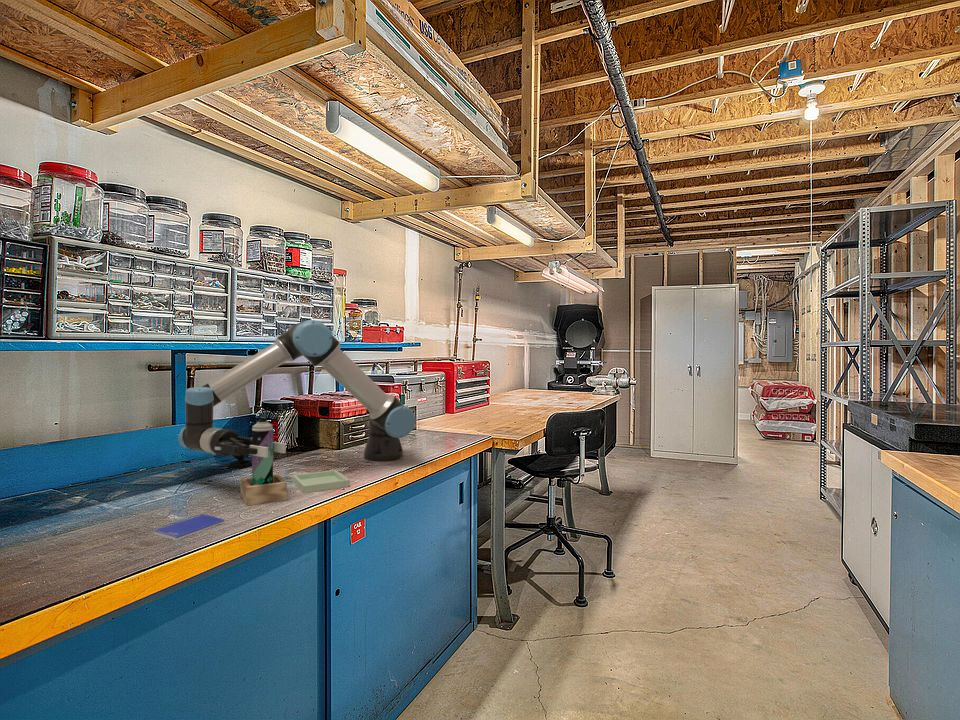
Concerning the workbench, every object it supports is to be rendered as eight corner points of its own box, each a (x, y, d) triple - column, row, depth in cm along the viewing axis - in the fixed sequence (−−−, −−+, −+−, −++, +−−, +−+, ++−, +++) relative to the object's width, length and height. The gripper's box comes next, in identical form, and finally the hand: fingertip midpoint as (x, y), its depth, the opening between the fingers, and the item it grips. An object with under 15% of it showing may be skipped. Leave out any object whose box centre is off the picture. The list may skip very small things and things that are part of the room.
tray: (335, 476, 169) (335, 469, 169) (349, 486, 157) (349, 479, 157) (292, 481, 161) (292, 475, 161) (303, 493, 150) (303, 486, 150)
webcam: (256, 464, 182) (257, 437, 181) (240, 469, 175) (240, 440, 174) (239, 462, 184) (240, 435, 184) (223, 467, 177) (223, 438, 177)
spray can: (249, 486, 144) (249, 416, 143) (268, 482, 148) (268, 414, 147) (256, 490, 140) (256, 419, 139) (276, 487, 144) (276, 417, 143)
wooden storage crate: (278, 490, 152) (278, 474, 151) (286, 500, 143) (286, 482, 143) (240, 495, 146) (240, 478, 146) (246, 505, 137) (246, 487, 137)
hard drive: (176, 536, 113) (224, 519, 124) (152, 529, 116) (202, 513, 128) (176, 543, 113) (224, 525, 124) (152, 536, 116) (202, 519, 128)
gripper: (246, 448, 160) (301, 457, 150) (191, 460, 144) (247, 471, 133) (246, 424, 160) (301, 431, 149) (191, 434, 143) (247, 442, 133)
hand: (275, 450), depth 141 cm, fingers closed on spray can, 5 cm apart
